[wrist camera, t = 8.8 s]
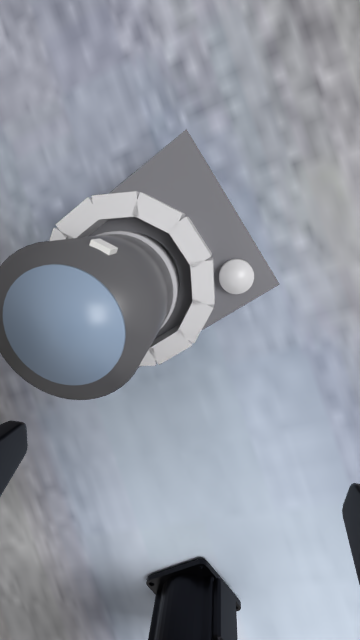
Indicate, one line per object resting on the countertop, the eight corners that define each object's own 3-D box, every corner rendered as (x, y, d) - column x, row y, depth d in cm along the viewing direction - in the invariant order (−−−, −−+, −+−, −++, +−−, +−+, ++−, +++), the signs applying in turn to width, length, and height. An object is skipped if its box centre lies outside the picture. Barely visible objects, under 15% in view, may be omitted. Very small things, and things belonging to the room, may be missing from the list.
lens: (156, 343, 16) (109, 431, 9) (73, 301, 16) (-36, 359, 9) (199, 258, 14) (180, 291, 8) (106, 210, 14) (3, 200, 8)
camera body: (117, 364, 21) (86, 406, 16) (43, 268, 20) (-15, 283, 15) (268, 272, 18) (285, 291, 13) (193, 148, 17) (181, 117, 12)
